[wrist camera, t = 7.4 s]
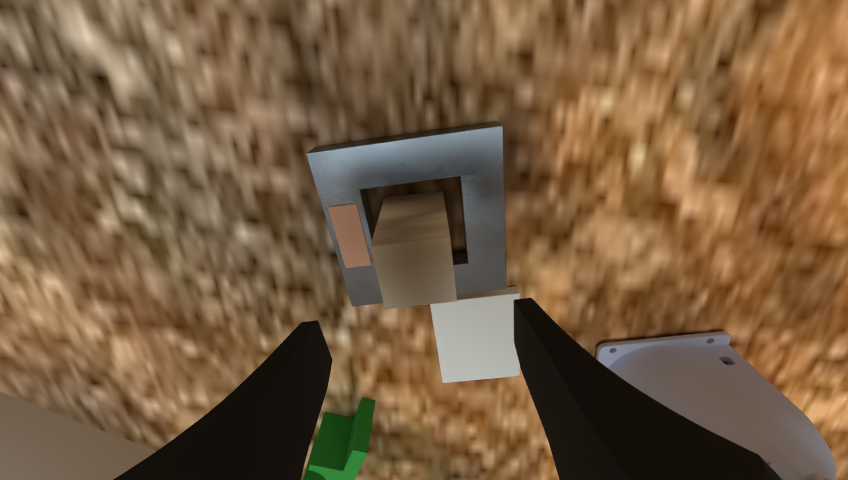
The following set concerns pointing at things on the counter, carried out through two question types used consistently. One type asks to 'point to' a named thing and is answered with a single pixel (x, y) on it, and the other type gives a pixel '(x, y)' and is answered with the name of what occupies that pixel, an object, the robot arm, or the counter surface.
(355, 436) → the pipe clamp
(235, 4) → the counter surface
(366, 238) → the plate
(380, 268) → the birch peg
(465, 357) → the white rectangular plate
